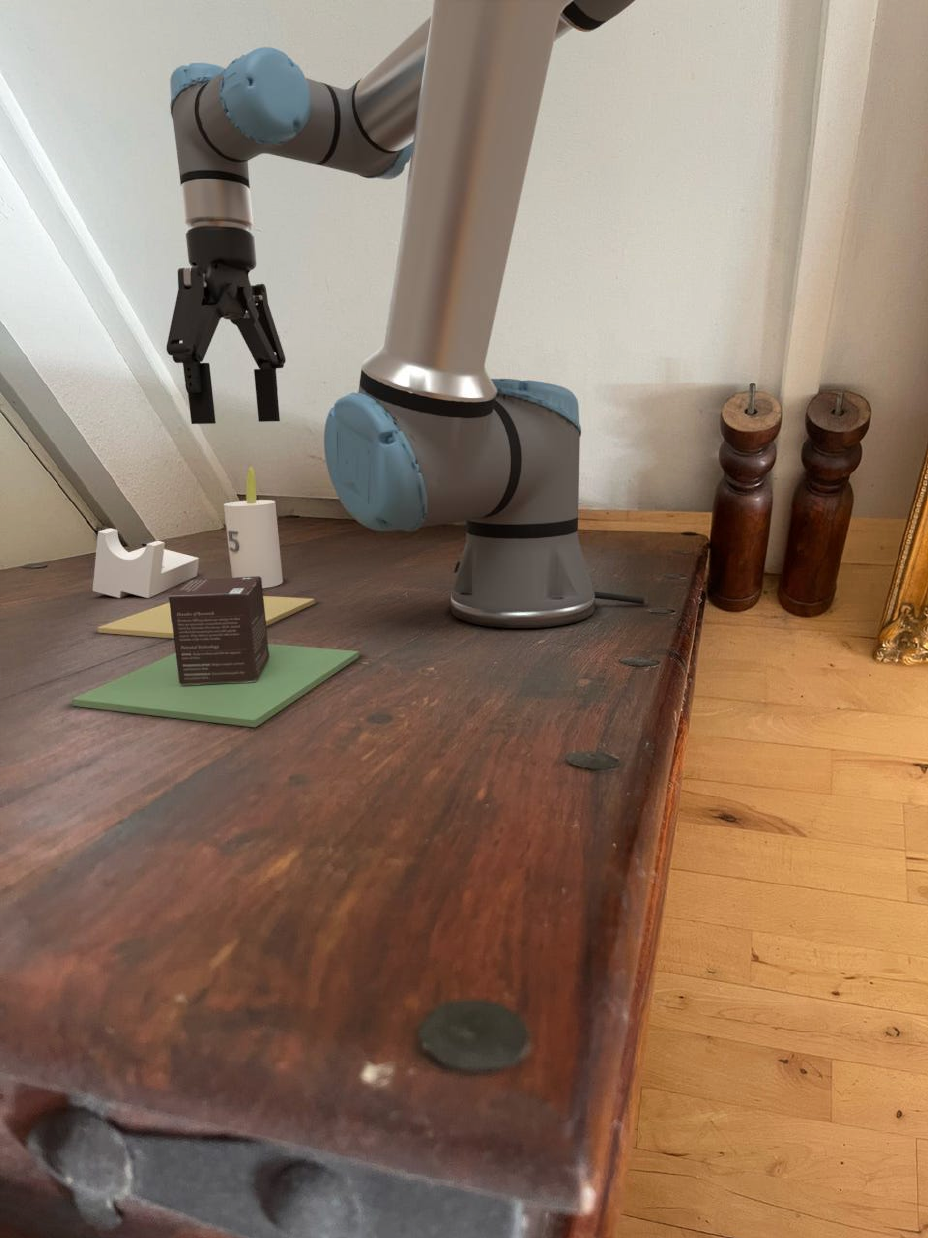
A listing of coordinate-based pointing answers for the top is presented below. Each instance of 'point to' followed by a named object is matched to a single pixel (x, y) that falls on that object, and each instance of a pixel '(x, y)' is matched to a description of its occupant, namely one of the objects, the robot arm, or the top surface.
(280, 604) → the cream mat
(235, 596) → the box
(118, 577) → the bracket
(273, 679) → the green mat
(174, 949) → the top surface
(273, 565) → the candle
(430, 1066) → the top surface
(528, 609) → the robot arm
